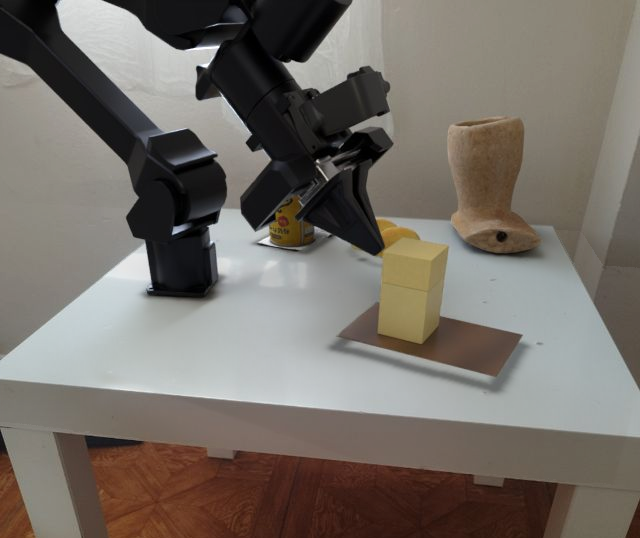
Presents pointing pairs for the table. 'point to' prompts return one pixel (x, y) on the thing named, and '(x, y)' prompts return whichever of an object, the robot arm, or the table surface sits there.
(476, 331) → the board
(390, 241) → the bread roll
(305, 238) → the condiment
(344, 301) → the table surface
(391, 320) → the butter block
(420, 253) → the butter pat
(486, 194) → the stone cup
